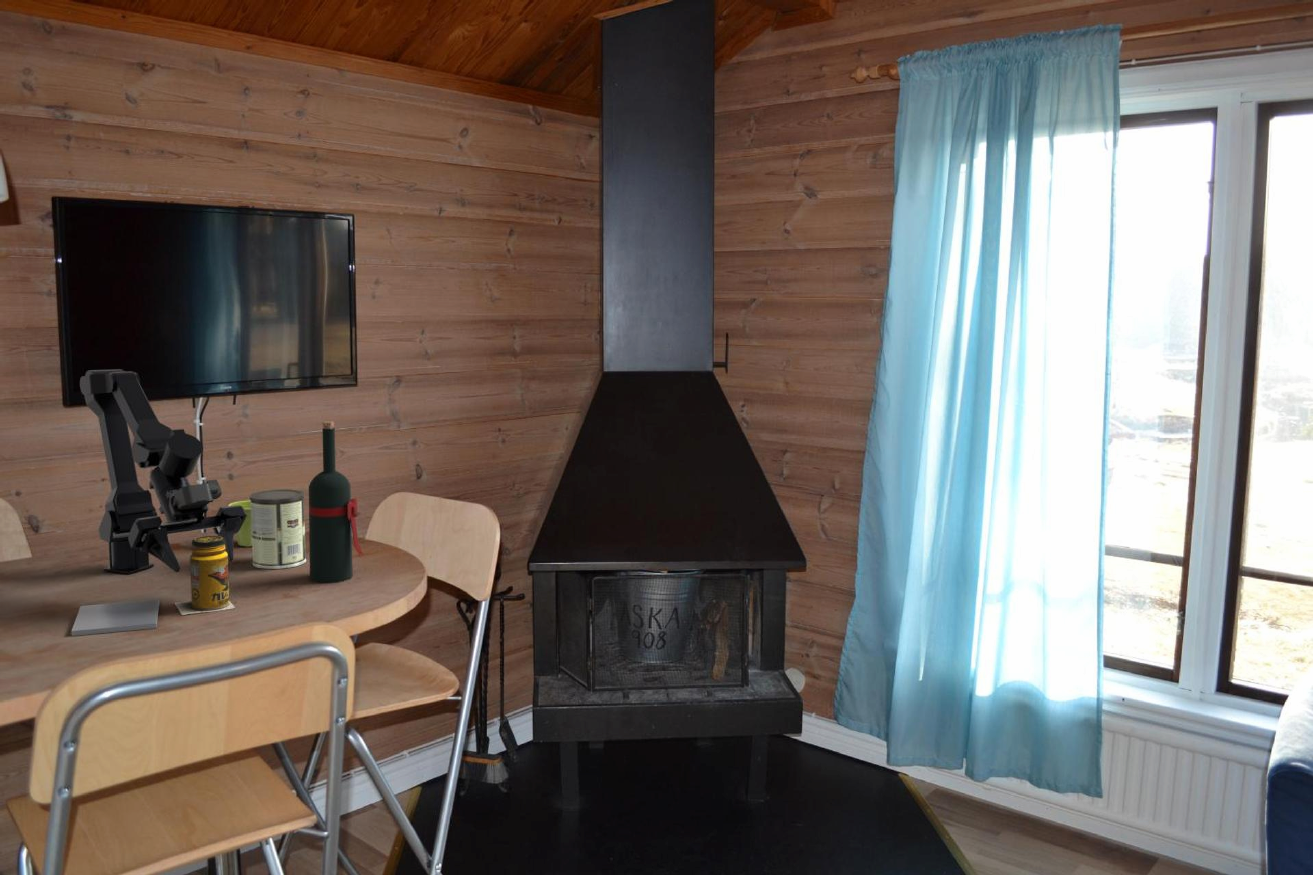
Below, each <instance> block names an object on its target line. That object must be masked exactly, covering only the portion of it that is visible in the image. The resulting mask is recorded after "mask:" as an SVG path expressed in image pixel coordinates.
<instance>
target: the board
mask: <svg viewBox="0 0 1313 875" xmlns="http://www.w3.org/2000/svg"><path fill="white" fill-rule="evenodd" d="M159 610H160V599H148V600H136V601H125V602H113V603H102V604H90V605H89V604H88V605H80V606H79V610H78V612H77V615H76V618H75V620H74V623H73V626H72V628H71V637H75V636H84V635H85V636H86V635H97V634H107V633H117V632H118V633H119V632H130V631H138V630H139V631H140V630H149V629H150V630H151V629H152V630H153V629H157V627H158V626H157V624H158V619H159Z"/></svg>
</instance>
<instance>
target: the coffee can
mask: <svg viewBox="0 0 1313 875" xmlns="http://www.w3.org/2000/svg"><path fill="white" fill-rule="evenodd" d="M305 494H306V493H305V492H304V491H302V490H298V489H291V488H290V489H288V488H283V489H278V488H277V489H267V490H261V491H256V492H253V493H251V494H250V495H249V501H251V527H252V546H251V548H252V549H251V550H252V565H253V567H255V568H258V569H263V570H267V569H268V570H279V569H280V570H282V569H289V568H295V567H299V566H301V565H304V564H305V563H306V562H307V558H306V553H307V552H306V529H305V528H306V524H305V521H306V519H305V497H306V496H305Z"/></svg>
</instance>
